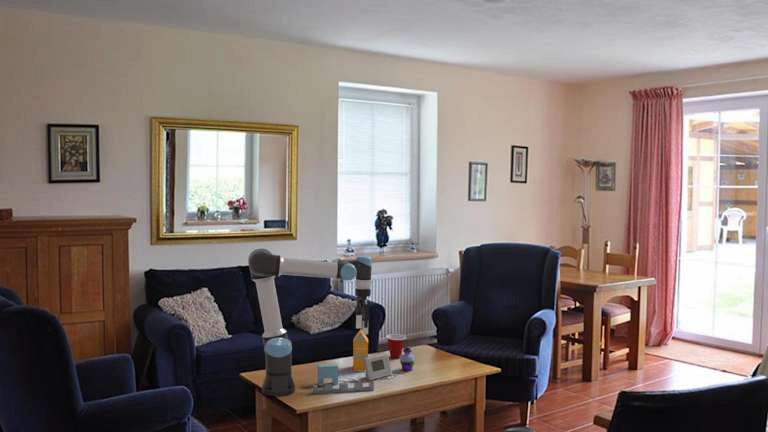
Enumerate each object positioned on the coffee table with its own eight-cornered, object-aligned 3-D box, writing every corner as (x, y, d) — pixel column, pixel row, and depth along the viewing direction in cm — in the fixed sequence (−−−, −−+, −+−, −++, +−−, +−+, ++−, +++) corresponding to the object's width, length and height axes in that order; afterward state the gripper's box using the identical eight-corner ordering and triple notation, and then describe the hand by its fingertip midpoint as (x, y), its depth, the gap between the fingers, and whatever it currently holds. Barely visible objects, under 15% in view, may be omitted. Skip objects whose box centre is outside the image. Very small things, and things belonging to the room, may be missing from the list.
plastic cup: (393, 361, 365) (393, 339, 365) (382, 356, 374) (382, 335, 374) (409, 358, 371) (409, 336, 371) (398, 354, 380) (398, 333, 380)
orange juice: (368, 366, 354) (368, 328, 353) (367, 371, 345) (368, 332, 344) (353, 366, 354) (353, 328, 353) (352, 370, 345) (353, 332, 344)
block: (319, 385, 318) (319, 366, 318) (317, 383, 323) (317, 364, 322) (337, 384, 321) (338, 365, 320) (336, 381, 325) (336, 363, 325)
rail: (313, 394, 306) (313, 386, 305) (312, 392, 308) (312, 384, 308) (373, 390, 313) (373, 382, 312) (372, 388, 315) (372, 381, 315)
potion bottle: (412, 372, 343) (412, 349, 342) (396, 370, 346) (396, 347, 345) (417, 368, 351) (417, 345, 350) (402, 366, 354) (402, 344, 353)
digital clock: (368, 381, 326) (368, 360, 326) (358, 377, 334) (358, 356, 333) (396, 377, 335) (396, 355, 335) (386, 372, 343) (386, 351, 342)
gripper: (377, 291, 317) (375, 336, 318) (364, 284, 342) (363, 325, 342) (361, 292, 315) (360, 337, 316) (350, 284, 340) (348, 326, 340)
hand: (361, 331), depth 329 cm, fingers open, 13 cm apart
